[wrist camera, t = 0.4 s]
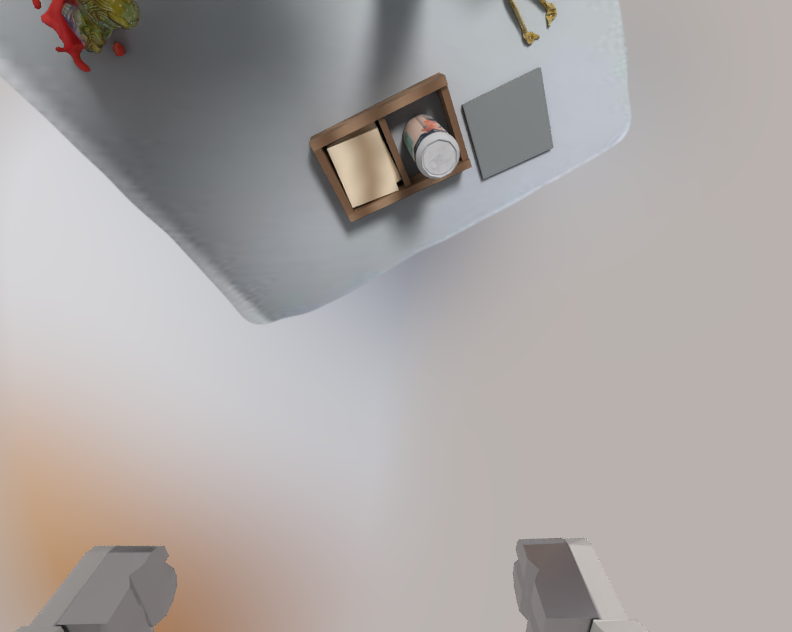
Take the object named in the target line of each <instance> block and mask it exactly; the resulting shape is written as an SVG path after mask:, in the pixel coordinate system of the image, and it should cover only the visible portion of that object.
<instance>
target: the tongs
mask: <svg viewBox="0 0 792 632" xmlns="http://www.w3.org/2000/svg"><path fill="white" fill-rule="evenodd" d="M538 1H539V2H540V3H541V4H542V5H543V6H544V7H545V8H546V10H547V14H546V18H547V20H548V26H549V27H550V23H551V21H552V20H553V19H554V18H555V17H556V15H557V12H556V8H555V7H554V5H553V4H550V3H548V2H547V1H546V0H538ZM509 2H510V5H511V7H512V8H513V11H514V13H515V15H516V17H517V19H518V21H519V24H520V26H521V29H522V32H523V37H524V39H525V40H526V42H527V43H528V44H532V43H533V41H534V40H535V39H539V35H536V34H534V33H533V32H530V33H529V32H528V31H527V29H526V27H525V24H524V22H523V20H522V18H521V16H520V13H519V11H518V8H517V7H516V5H515V3H514V1H513V0H509ZM549 15H552V16H551V17H550V16H549ZM530 37H531V39H530Z"/></svg>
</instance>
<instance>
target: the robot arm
mask: <svg viewBox="0 0 792 632" xmlns="http://www.w3.org/2000/svg"><path fill="white" fill-rule="evenodd" d="M516 552H517V556H518V560H517V561H516V562H515V563H514V571H513V578H514V589H515V594H516V599H517V603H518V607H519V611H520V612H521V613H522V614H523V616H524V617H525V618H526V619H527V620H528V622H527V629H526V632H649V631H648V630H647V629H646V628H645V627H644V626H643V625H642V624H640V623H639V622H638V621H637V620H636V619H628V617H627V615H626V613H625V611H624V609H623V607H622V605H621V603H620V601H619V599H618V597H617V595H616V593H615V591H614V589H613V587H612V585H611V583H610V581H609V579H608V577H607V575H606V573H605V571H604V569H603V567H602V565H601V563H600V561H599V559H598V557H597V555H596V553H595V551H594V549H593V547H592V544H591V543H590V542H589V541H588V540H587V539H585V538H575V539H562V538H548V539H522V540H521V539H519V541H518V542H517V546H516ZM168 556H169V555H168V553H167V551H166V549H165V547H164V546H95V547H93V548H92V549H91V550H89V551H88V552H87V553H86V554H85V555H84V556H83V557H82V559H81V560H80V561H79V563H78V564H77V565H76V566H75V568H74V569H73V570H72V572H71V573H70V574H69V575H68V577H67V578H66V579H65V580H64V582H63V583H62V584H61V586H60V587H59V588H58V589H57V591H56V592H55V593H54V595H53V596H52V597H51V598H50V600H49V601H48V602H47V604H46V605H45V606H44V607H43V609H42V610H41V611H40V612H39V614H38V615H37V616H36V618H35V619H34V620H33V621H32V623H31V624H30V625H29V626H23V627H20V628H19V629H18V630H16V631H15V632H154V628H153V627H154V626H155V625H156V624H157V623H158V622H159V621H161V620H162V619H163V618H164V617H165V616H166V615H167V613H168V610H169V608H170V606H171V604H172V602H173V599H174V595H175V591H176V587H177V576H176V573H175V570H174V568H173V567H171V566H170V565H168V564H167V563H166V562H165V561H166V560H167V558H168Z"/></svg>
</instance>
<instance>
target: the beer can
mask: <svg viewBox="0 0 792 632" xmlns="http://www.w3.org/2000/svg"><path fill="white" fill-rule="evenodd" d="M403 139H404V143H405V145H406V147H407V149H408V151H409V152H410V154H411V156H412V158H413V160H414V161H415V163H416V165H417V167H418V169H419V170H420V171H421V173H422V174H423V175H425V176H426V177H429V178H432V179H440V178H443V177H446V176H447V175H449V174H450V173H451V172H452V171H453V170H454V169H455V168H456V166H457V164H458V161H459V157H460V150H459V146H458V143H457V142H456V140H455V139H454V138H453V137H452V136H451V135H450V134H449V133H448V132H447V131H446V130H445V129H444V128H443V127H441V126H440V125H439V124H438V123H437V122H436V121H435V120H434V119H433V118H432V117H431V116H428V115H423V114H421V115H417V116H415V117H413V118H411V119H410V120H409V121H408V123H407V124H406V126H405V129H404V132H403Z"/></svg>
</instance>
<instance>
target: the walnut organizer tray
mask: <svg viewBox="0 0 792 632" xmlns="http://www.w3.org/2000/svg"><path fill="white" fill-rule="evenodd" d="M447 85H448V84H447V81H446V77H445V75H443V74H441V73H437V74H435V75H433V76H431V77H429V78H427V79H425V80H423V81H421V82H419V83H417V84H415V85H413V86H411V87H409V88H407V89H405V90H403V91H401V92H399V93H397V94H395V95H393V96H391V97H389V98H387V99H385V100H383V101H381V102H379V103H378V104H376V105H374V106H372V107H370V108H368V109H366V110H364V111H362V112H360V113H358V114H356V115H354V116H352V117H350V118H348V119H346V120H344V121H342V122H340V123H338V124H336V125H334V126H332V127H330V128H328V129H326V130H324V131H322V132H320V133H318V134H316V135H314V136H312V137H311V139H310V142H309V144H310V146H311V148H312V150H313V152H314V154H315V156H316V158H317V159H318V161H319V163H320V165H321V167H322V169H323V171H324V173H325V174H326V176H327V178H328V180H329V182H330V184H331V186H332V187H333V189H334V191H335V193H336V195H337V197H338V199H339V201H340V202H341V204H342V206H343V208H344V210H345V212H346V214H347V216H348V217H349V219H350V221H351V222H353V221H355V220H357V219H359V218H362V217H364V216H366V215H368V214H370V213H373V212H375V211H377V210H379V209H381V208H383V207H386V206H388V205H390V204H392V203H394V202H396V201H399V200H401V199H403V198H405V197H407V196H409V195H412V194H414V193H416V192H418V191H420V190H422V189H425V188H427V187H429V186H431V185H433V184H436V183H438V182H440V181H442V180H444V179H446V178H449V177H451V176H453V175H455V174H457V173H459V172H462V171H464V170H466V169H468V168H470V167H472V166H471V163H470V159H469V158H468V155H467V151H466V148H465V145H464V141H463V138H462V134H461V131H460V128H459V124H458V121H457V117H456V114H455V111H454V107H453V104H452V100H451V97H450V93H449V90H448V87H447ZM436 90H437V92H438V95H439V98H440V101H441V105H442V108H443V111H444V114H445V118H446V121H447V124H448V127H449V130H450V134H451V136H452V137H453V138H454V139H455V140H456V142H457V143H458V146H459V150H460V157H459V161H458V164H457V166H456V168H455V169H454V170H453V171H452V172H451V173H450V174H449V175H447V176H446V177H443V178H440V179H432V178H429V177H426V176H425V175H423V174H422V173H421V172H420V173H418V174H416V175H414V176H412V177H409V178H408V175H407V173H406V170H405V168H404V165H403V163H402V160H401V158H400V155H399V153H398V150H397V148H396V145H395V143H394V140H393V138H392V135H391V133H390V130H389V128H388V125H387V123H386V120H385V118H384V116H386V115H388V114H390V113H392V112H394V111H396V110H398V109H400V108H402V107H404V106H406V105H408V104H410V103H412V102H414V101H416V100H418V99H420V98H422V97H424V96H426V95H428V94H430V93H432V92H434V91H436ZM376 120H378V121H379V124H380V126H381V128H382V131H383V133H384V136H385V138H386V140H387V143H388V145H389V148H390V150H391V153H392V155H393V157H394V160H395V162H396V165H397V167H398V170H399V172H400V174H401V176H400V174H399V172H398V170H397V168H396V166H395V164H394V162H393V160H392V158H391V155H390V153H389V151H388V149H387V147H386V145H385V143H384V141H383V139H382V137H381V134H380V132H379V130H378V128H377V126H376V124H375V122H374V121H376ZM326 145H327V150H328V152H329V154H330V156H329V154H328V152H327V150H326V148H325V147H324V146H326ZM330 157H331V158H330ZM331 159H332V160H331ZM332 161H333V162H332ZM401 177H402V179H403V181H401V182H399V183H396V182H398V181H400V180H402V179H401Z"/></svg>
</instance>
